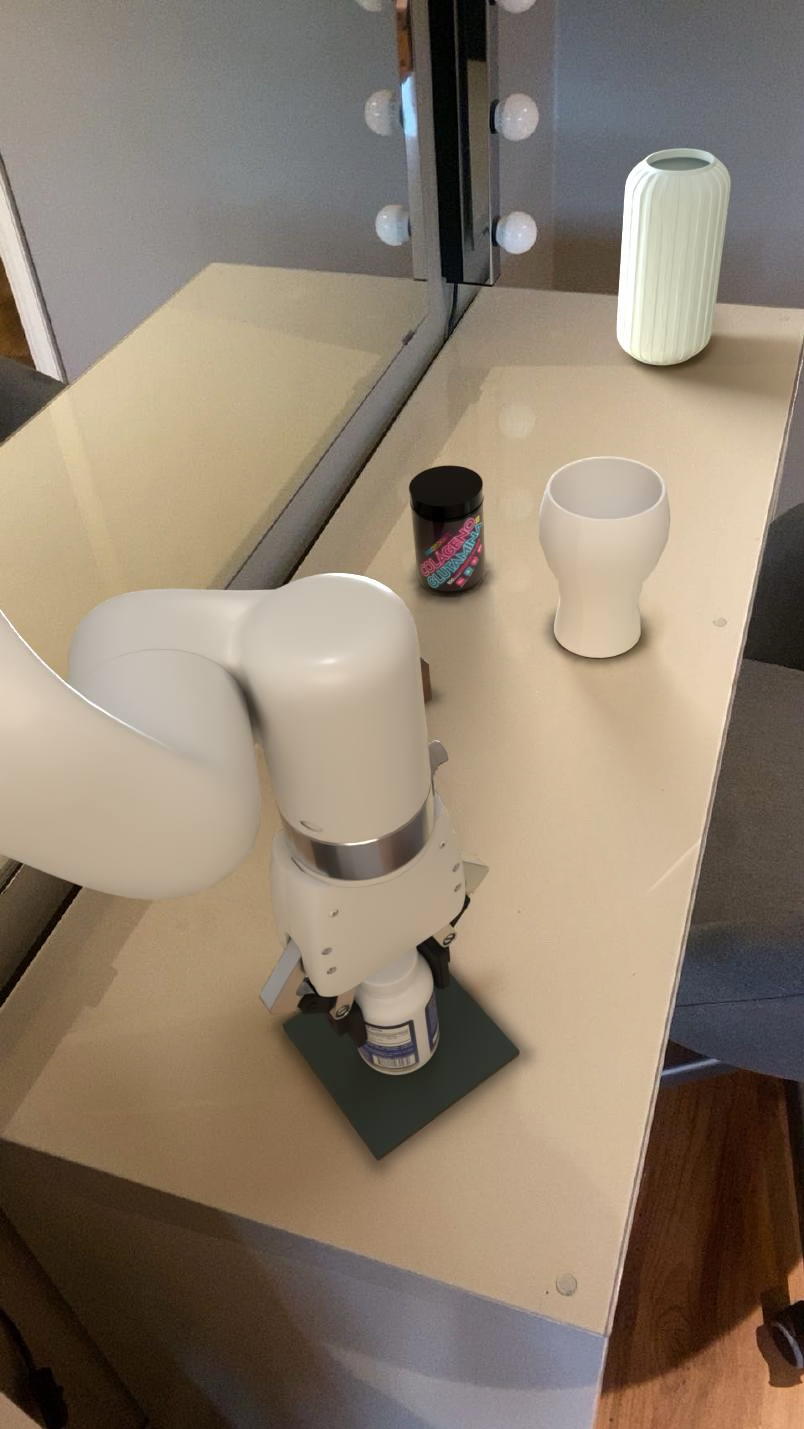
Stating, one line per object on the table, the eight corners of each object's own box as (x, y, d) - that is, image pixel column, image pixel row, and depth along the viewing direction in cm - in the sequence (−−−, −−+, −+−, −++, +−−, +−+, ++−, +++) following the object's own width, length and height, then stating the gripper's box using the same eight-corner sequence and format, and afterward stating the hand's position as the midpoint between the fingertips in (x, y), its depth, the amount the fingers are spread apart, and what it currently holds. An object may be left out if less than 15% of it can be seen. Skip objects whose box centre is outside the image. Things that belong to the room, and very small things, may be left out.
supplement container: (405, 590, 101) (395, 497, 94) (435, 551, 105) (428, 459, 98) (468, 606, 99) (464, 512, 91) (497, 565, 103) (495, 472, 95)
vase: (718, 336, 133) (743, 145, 117) (697, 378, 126) (721, 180, 110) (629, 326, 137) (642, 140, 121) (604, 366, 130) (614, 174, 114)
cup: (681, 625, 94) (700, 481, 84) (607, 687, 89) (618, 541, 79) (587, 579, 100) (594, 438, 89) (513, 634, 95) (512, 493, 85)
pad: (377, 1161, 62) (376, 1157, 62) (282, 1028, 69) (281, 1024, 69) (519, 1054, 66) (519, 1050, 66) (417, 938, 73) (416, 934, 73)
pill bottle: (398, 984, 70) (385, 899, 63) (457, 1035, 67) (449, 951, 60) (338, 1039, 68) (318, 956, 61) (396, 1094, 65) (382, 1014, 58)
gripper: (449, 689, 57) (463, 887, 69) (167, 849, 50) (239, 1035, 63) (541, 767, 52) (538, 965, 65) (243, 954, 46) (304, 1132, 59)
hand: (390, 998), depth 64 cm, fingers closed on pill bottle, 5 cm apart
